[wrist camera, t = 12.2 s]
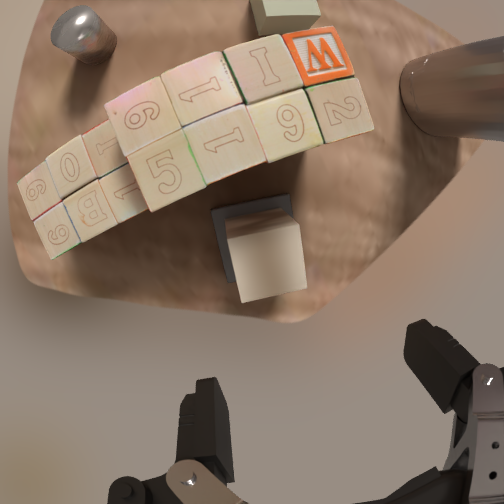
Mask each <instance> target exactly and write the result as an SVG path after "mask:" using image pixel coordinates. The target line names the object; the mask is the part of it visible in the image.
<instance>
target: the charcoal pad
mask: <svg viewBox="0 0 504 504" xmlns="http://www.w3.org/2000/svg"><path fill="white" fill-rule="evenodd" d="M276 208H282V209H283V210H284V211H285V212H286V213H287V214H288V215H290V216H291V217H292V218H293V213H292V207H291V200H290V195H289V194H288V193H286V194H281V195H276V196H271V197H266V198H261V199H256V200H251V201H246V202H242V203H237V204H232V205H228V206H223V207H219V208H214V209H211V215H212V219H213V224H214V228H215V232H216V236H217V241H218V245H219V249H220V253H221V257H222V261H223V265H224V269H225V273H226V278H227V282H228V283H231V282H236V276H235V272H234V268H233V263H232V259H231V254H230V250H229V246H228V241H227V234H226V226H225V219H228V218H232V217H237V216H242V215H247V214H251V213H256V212H261V211H266V210H271V209H276Z"/></svg>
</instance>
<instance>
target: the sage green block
mask: <svg viewBox="0 0 504 504" xmlns="http://www.w3.org/2000/svg"><path fill="white" fill-rule="evenodd" d="M250 3H251V7H252V11H253V15H254V19H255V23H256V27H257V31H258V35H259V36H262V35H274V34H286V33H291V32H297V31H302V30H308V29H310V27H311V26H312V25H313V24H314V23H315V22H316V21H317V19H318V18H319V17H320V16H321V13H320V10H319V7H318V4H317V1H316V0H250Z"/></svg>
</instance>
